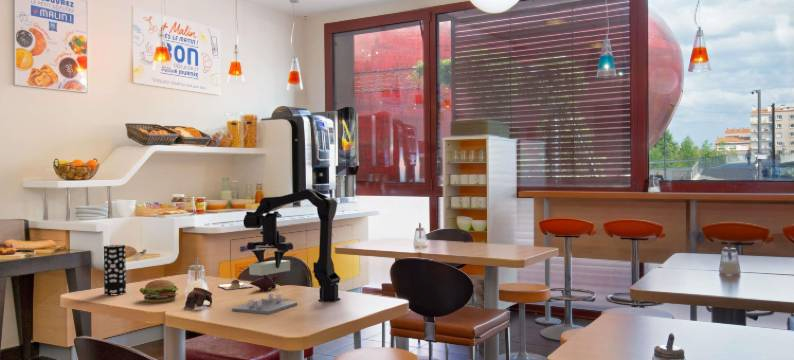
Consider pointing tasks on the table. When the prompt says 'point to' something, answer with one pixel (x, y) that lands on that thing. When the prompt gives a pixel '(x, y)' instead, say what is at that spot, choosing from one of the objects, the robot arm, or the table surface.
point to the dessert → (235, 285)
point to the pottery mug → (198, 298)
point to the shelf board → (268, 267)
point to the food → (159, 291)
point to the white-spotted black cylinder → (114, 269)
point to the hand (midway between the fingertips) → (270, 267)
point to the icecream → (265, 282)
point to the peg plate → (265, 305)
